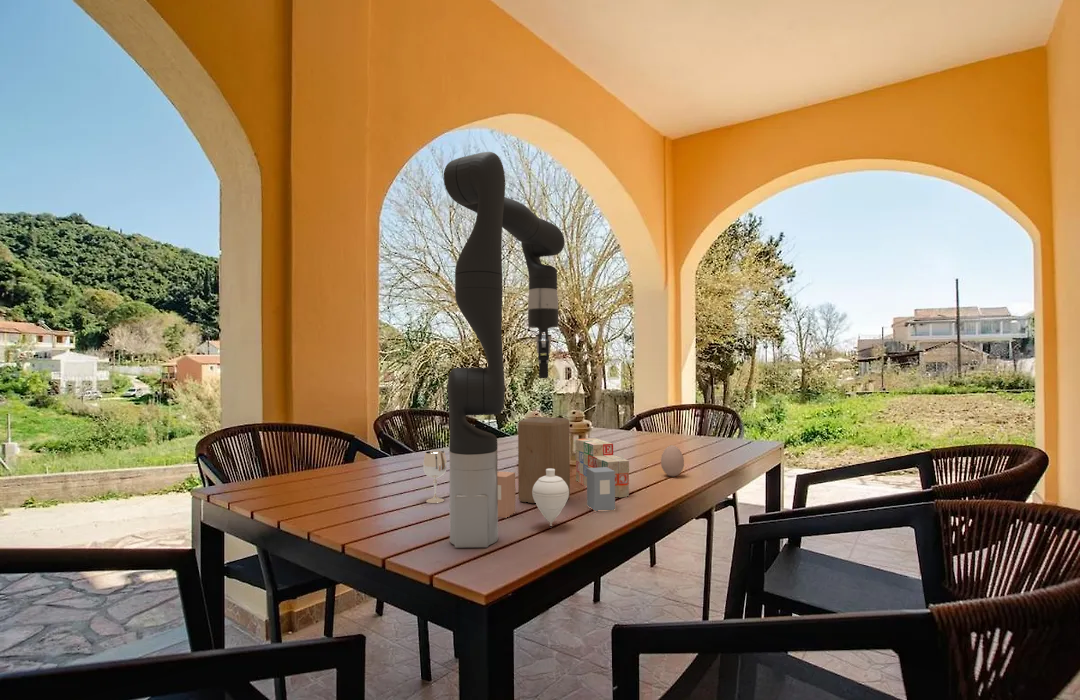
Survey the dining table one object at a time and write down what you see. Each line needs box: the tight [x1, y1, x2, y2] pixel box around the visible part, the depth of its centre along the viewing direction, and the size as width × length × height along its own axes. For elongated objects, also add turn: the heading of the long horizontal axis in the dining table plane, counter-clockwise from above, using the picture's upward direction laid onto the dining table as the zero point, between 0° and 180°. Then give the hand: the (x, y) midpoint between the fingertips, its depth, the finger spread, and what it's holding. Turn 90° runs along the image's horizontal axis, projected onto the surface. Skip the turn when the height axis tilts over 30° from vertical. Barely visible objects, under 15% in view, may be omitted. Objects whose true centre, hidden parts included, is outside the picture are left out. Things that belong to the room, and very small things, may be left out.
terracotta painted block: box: [497, 470, 516, 519], centre depth 125 cm, size 5×5×9 cm
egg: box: [660, 444, 685, 477], centre depth 163 cm, size 7×7×9 cm
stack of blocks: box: [574, 437, 630, 498], centre depth 149 cm, size 21×6×12 cm, turn 18°
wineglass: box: [422, 450, 448, 504], centre depth 137 cm, size 6×6×12 cm
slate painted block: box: [586, 467, 616, 511], centre depth 129 cm, size 5×5×9 cm
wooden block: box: [517, 416, 571, 504], centre depth 137 cm, size 10×10×20 cm
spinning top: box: [532, 468, 570, 527], centre depth 115 cm, size 8×8×12 cm
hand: (543, 378), depth 137 cm, fingers closed
